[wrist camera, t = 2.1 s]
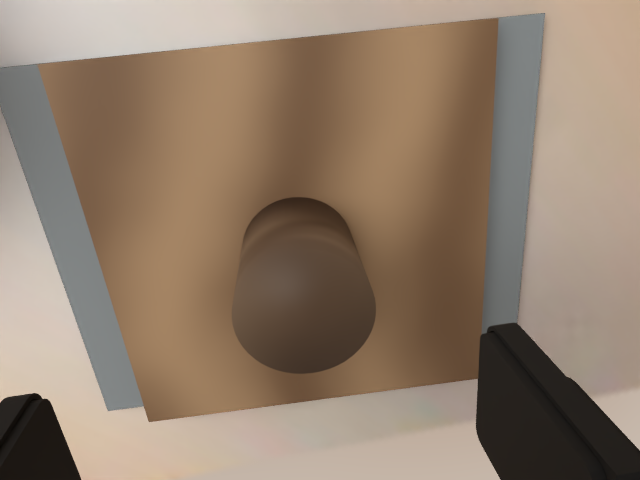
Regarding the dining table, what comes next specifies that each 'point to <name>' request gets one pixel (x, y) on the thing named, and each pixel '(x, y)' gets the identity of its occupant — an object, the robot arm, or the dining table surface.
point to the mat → (34, 108)
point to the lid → (288, 210)
